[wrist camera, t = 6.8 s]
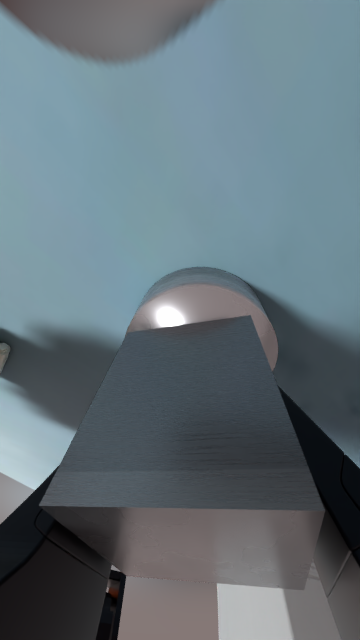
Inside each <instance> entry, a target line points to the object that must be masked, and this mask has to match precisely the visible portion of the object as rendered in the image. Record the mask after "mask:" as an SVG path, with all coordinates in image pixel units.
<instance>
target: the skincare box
mask: <svg viewBox="0 0 360 640" xmlns="http://www.w3.org/2000/svg"><path fill="white" fill-rule="evenodd" d="M217 595H218V622H219V623H218V624H219V640H341V638H340V635H339V632H338V629H337V626H336V624H335V621H334V618H333V615H332V612H331V609H330V607H329V604H328V601H327V599H328V598H327V597H326V595H325V592H324V589H323V586H322V584H321V581H320V578H319V575H318V572H317V569H316V566H315V564H314V561H313V559H312V563H311V566H310V570H309V574H308V578H307V582H306V585H305V589H304V590H293V589H281V588H268V587H256V586H244V585H231V584H219V583H217Z"/></svg>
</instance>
